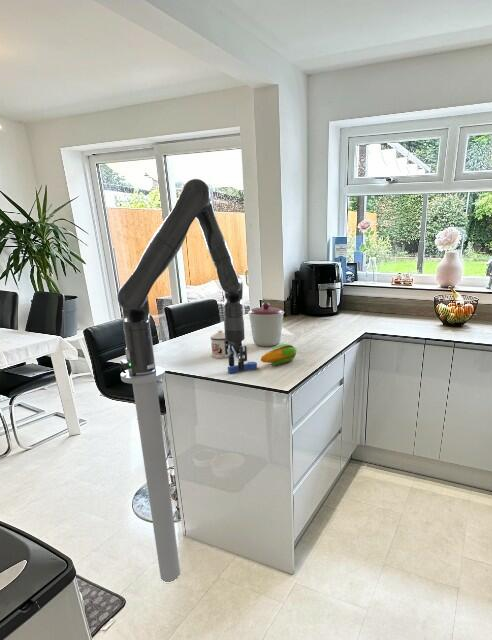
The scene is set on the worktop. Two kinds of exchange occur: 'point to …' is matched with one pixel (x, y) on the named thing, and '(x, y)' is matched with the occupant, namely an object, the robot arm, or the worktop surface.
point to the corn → (279, 355)
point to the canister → (266, 325)
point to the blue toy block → (246, 367)
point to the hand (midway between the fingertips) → (236, 368)
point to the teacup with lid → (218, 345)
